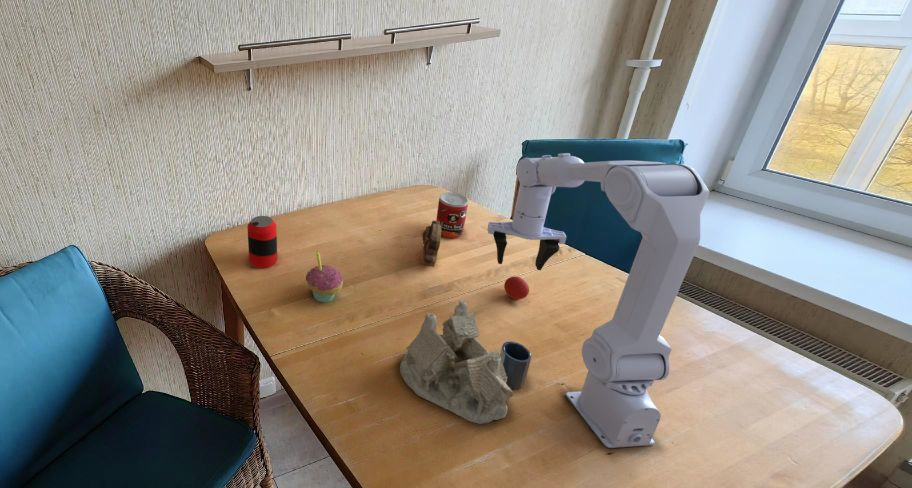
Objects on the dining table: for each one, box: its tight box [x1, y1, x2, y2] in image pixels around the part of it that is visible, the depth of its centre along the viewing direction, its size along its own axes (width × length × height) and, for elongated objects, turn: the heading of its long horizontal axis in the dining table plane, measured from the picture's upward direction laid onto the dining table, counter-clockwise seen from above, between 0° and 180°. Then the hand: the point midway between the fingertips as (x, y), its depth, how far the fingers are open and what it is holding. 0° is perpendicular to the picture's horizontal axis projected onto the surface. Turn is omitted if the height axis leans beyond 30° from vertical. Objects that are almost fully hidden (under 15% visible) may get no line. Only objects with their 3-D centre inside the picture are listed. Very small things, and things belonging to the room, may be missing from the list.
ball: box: [503, 275, 530, 300], centre depth 98 cm, size 5×5×5 cm
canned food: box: [435, 191, 469, 239], centre depth 123 cm, size 8×8×11 cm
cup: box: [499, 340, 532, 390], centre depth 78 cm, size 5×5×6 cm
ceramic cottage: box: [399, 300, 514, 425], centre depth 75 cm, size 16×16×15 cm
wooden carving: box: [421, 220, 442, 268], centre depth 112 cm, size 16×5×10 cm, turn 165°
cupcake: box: [305, 249, 344, 303], centre depth 99 cm, size 9×8×12 cm
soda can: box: [246, 215, 278, 269], centre depth 112 cm, size 8×8×12 cm
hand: (518, 264), depth 95 cm, fingers open, 7 cm apart
